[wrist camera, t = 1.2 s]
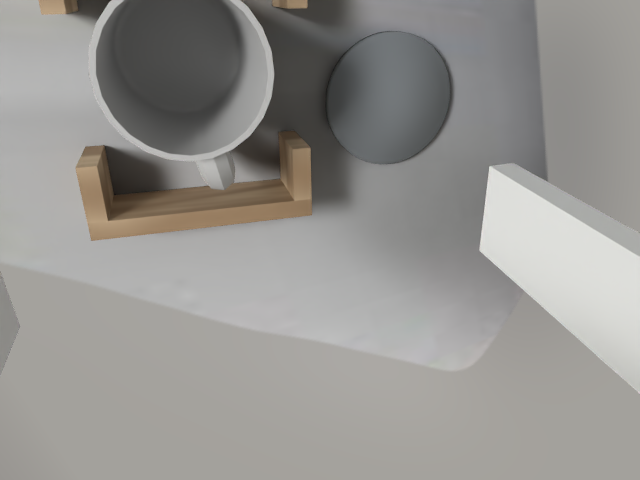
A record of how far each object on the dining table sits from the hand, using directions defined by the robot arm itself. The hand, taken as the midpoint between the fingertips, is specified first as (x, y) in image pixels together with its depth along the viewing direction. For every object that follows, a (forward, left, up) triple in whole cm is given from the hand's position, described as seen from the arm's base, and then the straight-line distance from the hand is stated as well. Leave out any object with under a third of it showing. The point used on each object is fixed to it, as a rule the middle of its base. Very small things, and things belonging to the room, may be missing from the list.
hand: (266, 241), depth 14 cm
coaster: (0, +11, -19) cm, 22 cm away
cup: (-2, -1, -19) cm, 19 cm away
